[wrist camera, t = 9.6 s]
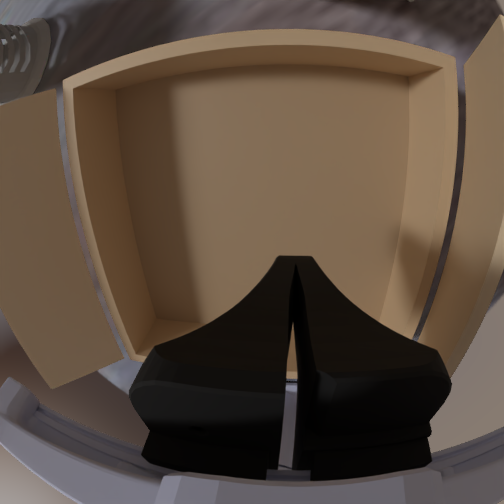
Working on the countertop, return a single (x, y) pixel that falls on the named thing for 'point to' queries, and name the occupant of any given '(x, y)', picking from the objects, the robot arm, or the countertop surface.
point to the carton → (262, 173)
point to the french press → (23, 58)
